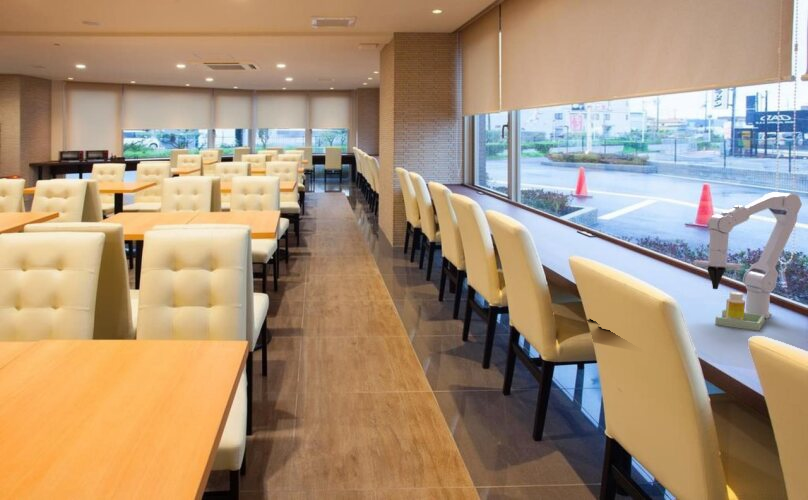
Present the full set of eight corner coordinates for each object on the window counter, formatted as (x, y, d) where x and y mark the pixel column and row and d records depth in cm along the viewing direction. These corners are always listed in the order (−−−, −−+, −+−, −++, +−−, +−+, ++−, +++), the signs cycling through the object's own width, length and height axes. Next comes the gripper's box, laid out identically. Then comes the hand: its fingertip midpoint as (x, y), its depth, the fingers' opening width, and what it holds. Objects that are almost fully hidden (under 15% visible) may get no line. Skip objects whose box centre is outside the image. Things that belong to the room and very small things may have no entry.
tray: (722, 316, 229) (722, 309, 229) (764, 322, 222) (764, 315, 221) (715, 324, 219) (715, 317, 218) (758, 330, 211) (759, 323, 211)
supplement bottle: (746, 324, 218) (749, 295, 217) (730, 324, 218) (732, 295, 217) (737, 320, 224) (740, 291, 222) (721, 320, 224) (724, 291, 222)
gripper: (693, 249, 225) (690, 288, 227) (739, 253, 217) (736, 293, 219) (697, 247, 231) (694, 284, 233) (742, 250, 223) (739, 289, 225)
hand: (715, 288), depth 226 cm, fingers closed
